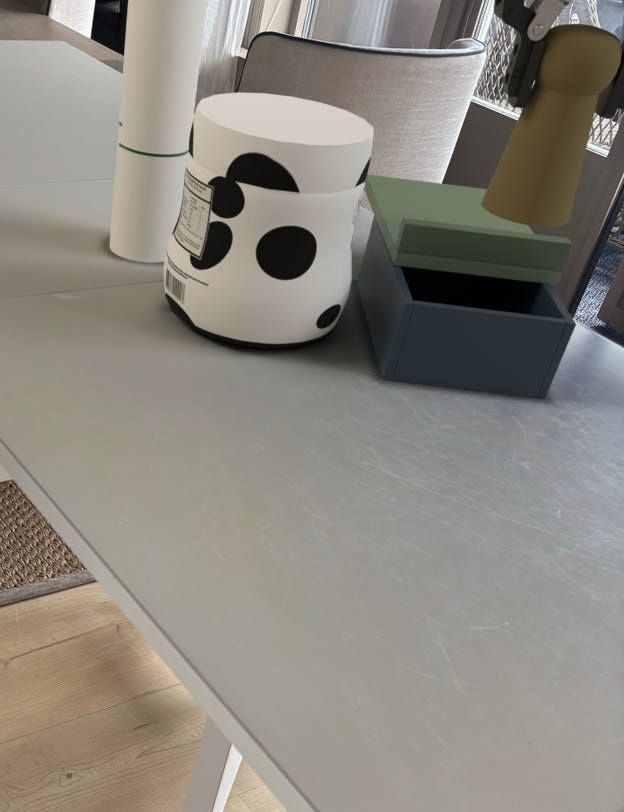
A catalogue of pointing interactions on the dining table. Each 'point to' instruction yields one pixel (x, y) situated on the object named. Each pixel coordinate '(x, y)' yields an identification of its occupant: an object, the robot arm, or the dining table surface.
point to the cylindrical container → (155, 123)
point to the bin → (461, 326)
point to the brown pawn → (554, 128)
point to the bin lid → (459, 232)
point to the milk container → (267, 219)
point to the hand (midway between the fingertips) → (559, 108)
